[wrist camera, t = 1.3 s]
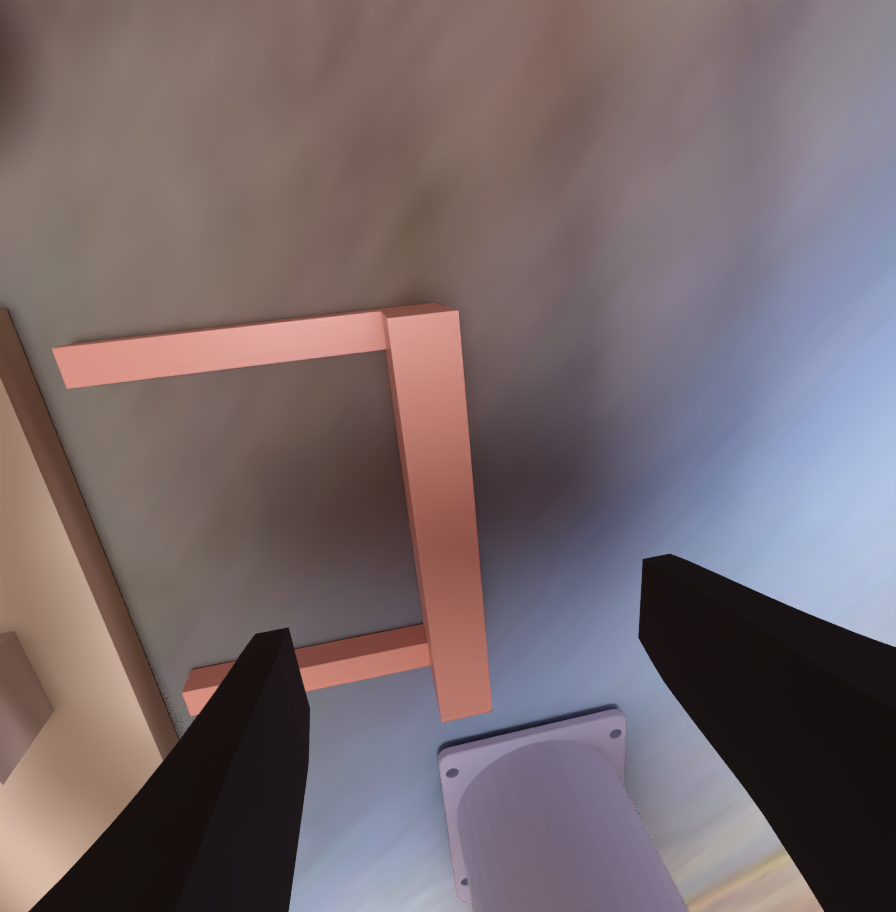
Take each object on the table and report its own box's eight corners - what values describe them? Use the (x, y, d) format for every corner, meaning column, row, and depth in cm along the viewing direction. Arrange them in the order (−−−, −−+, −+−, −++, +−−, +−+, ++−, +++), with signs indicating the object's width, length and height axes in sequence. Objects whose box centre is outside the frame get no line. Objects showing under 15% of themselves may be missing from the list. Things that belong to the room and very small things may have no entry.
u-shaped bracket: (434, 302, 14) (458, 310, 11) (468, 637, 18) (492, 711, 15) (73, 343, 13) (-17, 364, 10) (199, 692, 17) (165, 785, 14)
